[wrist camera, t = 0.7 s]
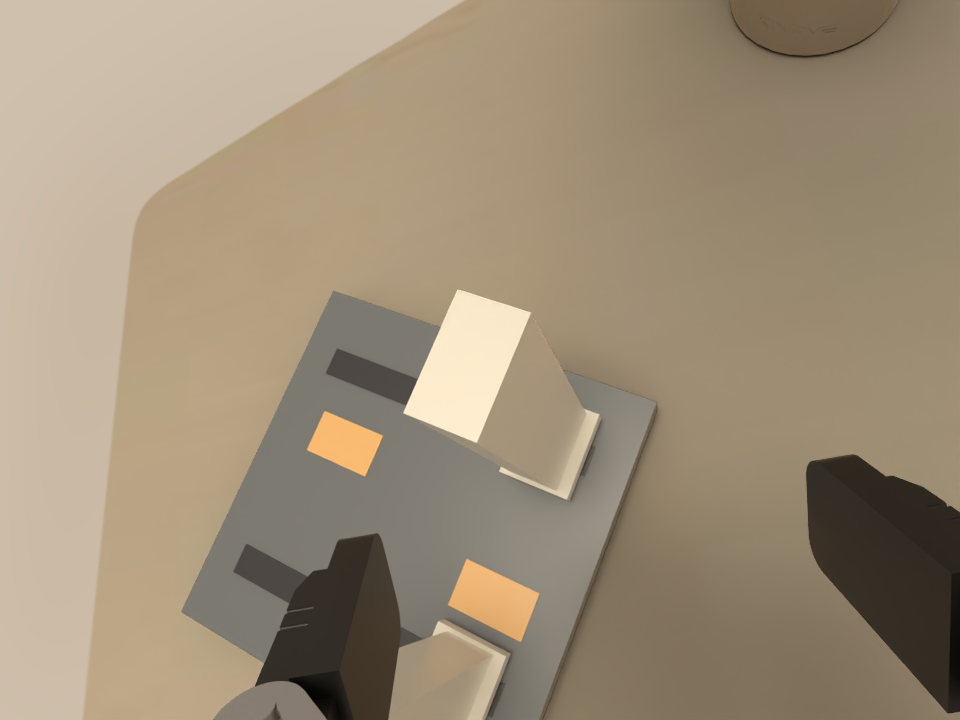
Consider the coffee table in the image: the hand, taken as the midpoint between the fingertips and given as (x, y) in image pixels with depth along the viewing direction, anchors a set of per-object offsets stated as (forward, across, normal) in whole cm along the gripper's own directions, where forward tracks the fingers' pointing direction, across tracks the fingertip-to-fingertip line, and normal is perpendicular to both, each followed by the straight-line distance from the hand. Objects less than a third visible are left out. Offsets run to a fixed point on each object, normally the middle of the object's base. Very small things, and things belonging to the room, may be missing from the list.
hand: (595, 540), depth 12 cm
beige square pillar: (+20, -1, +7) cm, 21 cm away
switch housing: (+22, +7, +11) cm, 25 cm away
